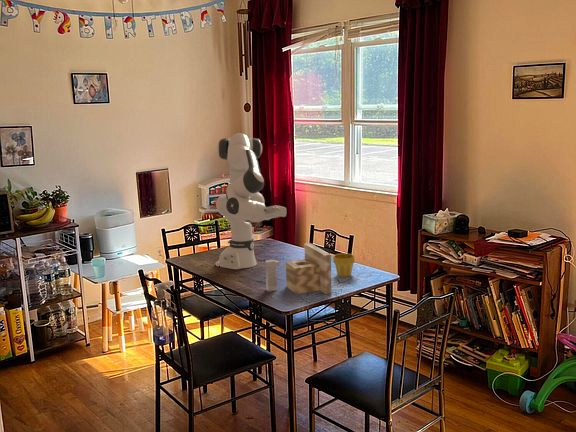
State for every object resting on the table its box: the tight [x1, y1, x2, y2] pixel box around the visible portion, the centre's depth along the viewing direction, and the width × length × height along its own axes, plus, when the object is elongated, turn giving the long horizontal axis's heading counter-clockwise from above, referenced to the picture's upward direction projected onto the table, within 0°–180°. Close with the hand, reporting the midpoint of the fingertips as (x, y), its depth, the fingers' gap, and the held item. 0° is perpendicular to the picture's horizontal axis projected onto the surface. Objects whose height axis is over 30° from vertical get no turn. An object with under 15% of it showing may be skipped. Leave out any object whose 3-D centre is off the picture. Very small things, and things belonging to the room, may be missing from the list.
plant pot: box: [333, 252, 355, 278], centre depth 285 cm, size 10×10×10 cm
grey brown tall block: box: [264, 259, 280, 292], centre depth 265 cm, size 6×3×14 cm, turn 110°
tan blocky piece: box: [285, 242, 333, 295], centre depth 266 cm, size 15×24×18 cm, turn 20°
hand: (276, 216), depth 265 cm, fingers open, 8 cm apart
